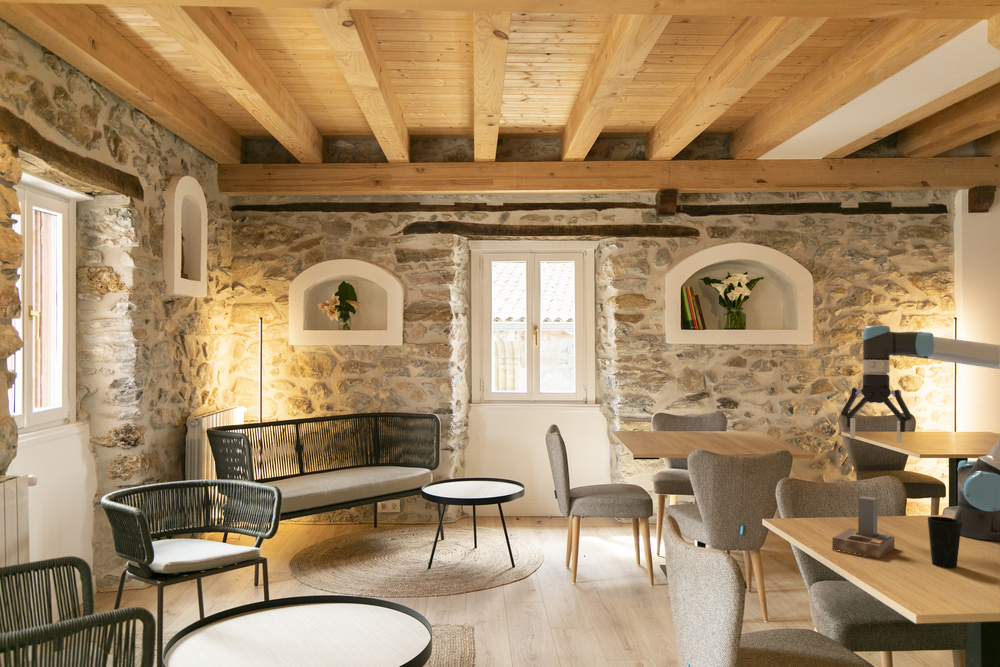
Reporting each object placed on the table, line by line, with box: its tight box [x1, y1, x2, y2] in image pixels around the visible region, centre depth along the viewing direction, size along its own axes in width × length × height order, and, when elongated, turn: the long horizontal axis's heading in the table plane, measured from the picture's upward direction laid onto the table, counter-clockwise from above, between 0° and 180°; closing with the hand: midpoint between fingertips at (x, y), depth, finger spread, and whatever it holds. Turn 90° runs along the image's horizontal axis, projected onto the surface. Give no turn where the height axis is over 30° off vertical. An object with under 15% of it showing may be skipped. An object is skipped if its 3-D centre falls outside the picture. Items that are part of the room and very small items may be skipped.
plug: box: [857, 495, 879, 538], centre depth 204 cm, size 4×4×14 cm
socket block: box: [831, 527, 895, 559], centre depth 201 cm, size 12×16×4 cm
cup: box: [927, 516, 962, 569], centre depth 187 cm, size 8×8×12 cm
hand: (875, 440), depth 224 cm, fingers open, 13 cm apart
